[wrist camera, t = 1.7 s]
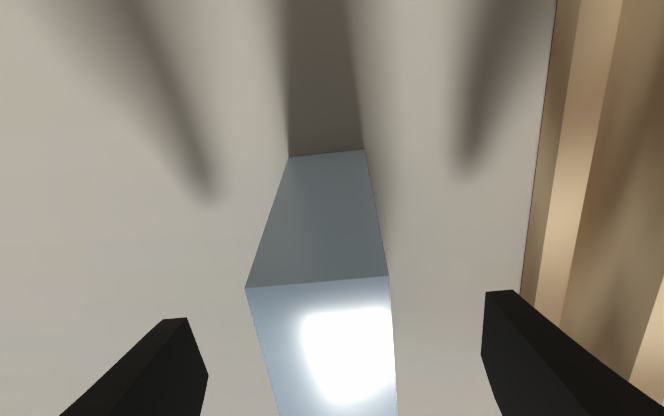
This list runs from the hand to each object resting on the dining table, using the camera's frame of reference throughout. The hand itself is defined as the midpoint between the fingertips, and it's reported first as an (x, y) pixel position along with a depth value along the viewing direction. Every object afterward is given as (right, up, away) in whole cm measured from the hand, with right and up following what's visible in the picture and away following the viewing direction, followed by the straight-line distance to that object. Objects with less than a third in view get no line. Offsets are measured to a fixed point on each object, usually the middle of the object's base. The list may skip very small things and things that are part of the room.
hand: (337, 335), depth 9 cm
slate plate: (0, +2, +3) cm, 4 cm away
